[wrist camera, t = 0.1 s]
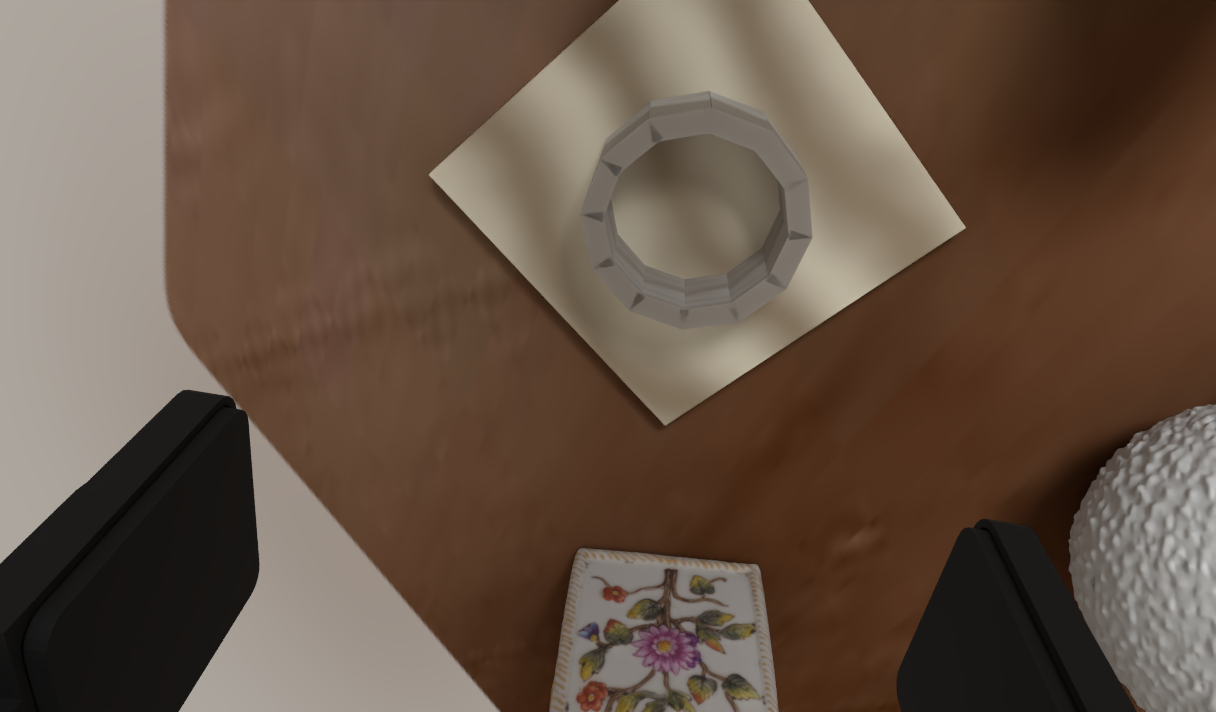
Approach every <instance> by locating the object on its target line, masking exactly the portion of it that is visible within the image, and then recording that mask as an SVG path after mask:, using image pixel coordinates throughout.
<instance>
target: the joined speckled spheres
mask: <svg viewBox="0 0 1216 712" xmlns="http://www.w3.org/2000/svg"><path fill="white" fill-rule="evenodd" d="M1069 544H1070V546H1069V552H1070V555H1071V559H1070V565H1069V572H1070V573H1071V575H1072V584H1073V588H1074V598H1075V600H1076V601H1077V602H1078V607H1079V609H1080V610H1081V612H1082V614H1083V617H1084V619H1085V621H1086V623H1087V625H1088V627H1089V628H1090V630H1091V632H1092V634H1093V635H1094V637H1095V639H1096V641H1097V642H1098V644H1099V646H1100V648H1101V650H1102V651H1103V653H1104V655H1105V657H1106V658H1107V660H1108V662H1109V664H1110V665H1111V667H1112V669H1113V671H1114V673H1115V674H1116V676H1117V678H1118V680H1119V681H1120V682H1121V683H1123V684H1124V685H1125V686H1126V687H1127V688H1128V689H1129V691H1130V694H1131V696H1132V697H1133V698H1134V700H1135V701H1136V703H1137V705H1138V706H1139V707H1141V708H1143V709H1145V712H1216V404H1215V405H1210V404H1208V405H1206V406H1198V407H1194V408H1193V409H1186V410H1184V411H1183V412H1181V413H1180V414H1178V415H1175V416H1173V417H1168V418H1166V419H1165V420H1163V421H1160V422H1158V423H1157V424H1156V425H1154V426H1153V427H1152V428H1151V429H1149V430H1147V431H1142V432H1139V433H1136V434H1134V436H1133V438H1132V439H1131V440H1130V443H1129V444H1127V446H1126V447H1124V448H1119V449H1117V451H1116V452H1115V453H1114V455H1113V457H1112V458H1111V459H1110V460H1108V461H1107V463H1106V467H1102V468H1101V469H1100V471H1099V474H1098V475H1097V479H1096V480H1094V481H1092V483H1091V486H1090V488H1089V489H1088V491H1087V494H1086V495H1085V497H1084V498H1083V500H1082V501H1081V506H1080V510H1079V511H1077V513H1076V514H1075V515H1074V524H1073V525H1072V527H1071V530H1070V539H1069Z"/></svg>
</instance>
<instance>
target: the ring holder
mask: <svg viewBox="0 0 1216 712" xmlns="http://www.w3.org/2000/svg"><path fill="white" fill-rule="evenodd" d="M429 176H430V177H431V178H432V179H433V180H434V181H435V182H436V183H437V184H438V185H439V186H440V187H441V188H442V189H443V190H444V192H445V193H446V194H447V195H448V196H449V197H450V198H451V199H452V200H453V201H454V202H455V203H456V204H457V205H458V206H459V207H460V209H461V210H462V211H463V212H464V213H465V214H466V215H467V216H468V217H469V218H470V219H471V220H472V221H473V222H474V223H475V224H476V226H477V227H478V228H479V229H480V230H481V231H482V232H483V233H484V234H485V235H486V236H487V237H488V238H489V239H490V240H491V241H492V242H493V244H494V245H495V246H496V247H497V248H498V249H499V250H500V251H501V252H502V253H503V254H504V255H505V256H506V257H507V258H508V259H509V261H510V262H511V263H512V264H513V265H514V266H515V267H516V268H517V269H518V270H519V271H520V272H521V273H522V274H523V275H524V276H525V278H526V279H527V280H528V281H529V282H530V283H531V284H532V285H533V286H534V287H535V288H536V289H537V290H538V291H539V292H540V293H541V295H542V296H543V297H544V298H545V299H546V300H547V301H548V302H549V303H550V304H551V305H552V306H553V307H554V308H555V309H556V310H557V311H558V313H559V314H560V315H561V316H562V317H563V318H564V319H565V320H566V321H567V322H568V323H569V324H570V325H571V326H572V327H573V328H574V330H575V331H576V332H577V333H578V334H579V335H580V336H581V337H582V338H583V339H584V340H585V341H586V342H587V343H588V344H589V345H590V347H591V348H592V349H593V350H594V351H595V352H596V353H597V354H598V355H599V356H600V357H601V358H602V359H603V360H604V361H605V362H606V364H607V365H608V366H609V367H610V368H611V369H612V370H613V371H614V372H615V373H616V374H617V375H618V376H619V377H620V378H621V379H622V380H623V382H624V383H625V384H626V385H627V386H628V387H629V388H630V389H631V390H632V391H633V392H634V393H635V394H636V395H637V396H638V397H639V399H640V400H641V401H642V402H643V403H644V404H645V405H646V406H647V407H648V408H649V409H650V410H651V411H652V412H653V413H654V414H655V416H656V417H657V418H658V419H659V420H660V421H661V422H662V423H663V424H664V425H665V426H666V425H667V424H669V423H670V422H672V421H673V420H675V419H676V418H678V417H679V416H681V415H682V414H684V413H685V412H687V411H688V410H690V409H691V408H693V407H694V406H696V405H697V404H699V403H700V402H702V401H704V400H705V399H707V398H708V397H710V396H711V395H713V394H714V393H716V392H717V391H719V390H720V389H722V388H723V387H725V386H726V385H728V384H729V383H731V382H732V381H734V380H735V379H737V378H738V377H740V376H741V375H743V374H745V373H746V372H748V371H749V370H751V369H752V368H754V367H755V366H757V365H758V364H760V363H761V362H763V361H764V360H766V359H767V358H769V357H770V356H772V355H773V354H775V353H776V352H778V351H779V350H781V349H783V348H784V347H786V346H787V345H789V344H790V343H792V342H793V341H795V340H796V339H798V338H799V337H801V336H802V335H804V334H805V333H807V332H808V331H810V330H811V329H813V328H814V327H816V326H817V325H819V324H820V323H822V322H824V321H825V320H827V319H828V318H830V317H831V316H833V315H834V314H836V313H837V312H839V311H840V310H842V309H843V308H845V307H846V306H848V305H849V304H851V303H852V302H854V301H855V300H857V299H858V298H860V297H862V296H863V295H865V294H866V293H868V292H869V291H871V290H872V289H874V288H875V287H877V286H878V285H880V284H881V283H883V282H884V281H886V280H887V279H889V278H890V277H892V276H893V275H895V274H896V273H898V272H899V271H901V270H903V269H904V268H906V267H907V266H909V265H910V264H912V263H913V262H915V261H916V260H918V259H919V258H921V257H922V256H924V255H925V254H927V253H928V252H930V251H931V250H933V249H934V248H936V247H937V246H939V245H940V244H942V243H944V242H945V241H947V240H948V239H950V238H951V237H953V236H954V235H956V234H957V233H959V232H960V231H962V230H963V229H965V228H966V227H965V226H964V224H963V223H962V221H961V220H960V219H959V217H958V216H957V214H956V213H955V211H954V210H953V208H952V207H951V206H950V204H949V203H948V201H947V200H946V198H945V197H944V195H943V194H942V193H941V191H940V190H939V188H938V187H937V185H936V184H935V182H934V181H933V180H932V178H931V177H930V175H929V174H928V172H927V171H926V169H925V168H924V167H923V165H922V164H921V162H920V161H919V159H918V158H917V156H916V155H915V154H914V152H913V151H912V149H911V148H910V146H909V145H908V143H907V142H906V141H905V139H904V138H903V136H902V135H901V133H900V132H899V130H898V129H897V128H896V126H895V125H894V123H893V122H892V120H891V119H890V117H889V116H888V115H887V113H886V112H885V110H884V109H883V107H882V106H881V104H880V103H879V102H878V100H877V99H876V97H875V96H874V94H873V93H872V91H871V90H870V89H869V87H868V86H867V84H866V83H865V81H864V80H863V78H862V77H861V76H860V74H859V73H858V71H857V70H856V68H855V67H854V65H853V64H852V63H851V61H850V60H849V58H848V57H847V55H846V54H845V52H844V51H843V50H842V48H841V47H840V45H839V44H838V42H837V41H836V39H835V38H834V37H833V35H832V34H831V32H830V31H829V29H828V28H827V26H826V25H825V24H824V22H823V21H822V19H821V18H820V16H819V15H818V13H817V12H816V11H815V9H814V8H813V6H812V5H811V3H810V2H809V0H618V1H617V2H616V3H615V4H614V5H613V6H612V7H610V8H609V9H608V10H607V11H606V12H605V13H604V14H603V15H602V16H601V17H600V18H598V19H597V20H596V21H595V22H594V23H593V24H592V25H591V26H590V27H589V28H587V29H586V30H585V31H584V32H583V33H582V34H581V35H580V36H579V37H578V38H577V39H575V40H574V41H573V42H572V43H571V44H570V45H569V46H568V47H567V48H566V49H565V50H563V51H562V52H561V53H560V54H559V55H558V56H557V57H556V58H555V59H554V60H553V61H551V62H550V63H549V64H548V65H547V66H546V67H545V68H544V69H543V70H542V71H540V72H539V73H538V74H537V75H536V76H535V77H534V78H533V79H532V80H531V81H530V82H528V83H527V84H526V85H525V86H524V87H523V88H522V89H521V90H520V91H519V92H518V93H516V94H515V95H514V96H513V97H512V98H511V99H510V100H509V101H508V102H507V103H505V104H504V105H503V106H502V107H501V108H500V109H499V110H498V111H497V112H496V113H495V114H493V115H492V116H491V117H490V118H489V119H488V120H487V121H486V122H485V123H484V124H483V125H481V126H480V127H479V128H478V129H477V130H476V131H475V132H474V133H473V134H472V135H471V136H469V137H468V138H467V139H466V140H465V141H464V142H463V143H462V144H461V145H460V146H458V147H457V148H456V149H455V150H454V151H453V152H452V153H451V154H450V155H449V156H448V157H446V158H445V159H444V160H443V161H442V162H441V163H440V164H439V165H438V166H437V167H436V168H434V169H433V171H432V172H431V173H430V174H429Z"/></svg>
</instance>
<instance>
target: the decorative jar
mask: <svg viewBox="0 0 1216 712" xmlns="http://www.w3.org/2000/svg"><path fill="white" fill-rule="evenodd" d="M762 584H763V583H762V579H761V572H760V569H759V567H758V565H757V564H746V563H736V562H734V563H729V562H725V561H717V560H705V559H696V558H686V557H675V556H664V555H656V554H647V553H639V552H626V551H614V550H601V549H592V548H580V549H579V550H578V551H577V553H576V555H575V559H574V563H573V567H572V572H571V577H570V582H569V588H568V594H567V599H566V604H565V611H564V619H563V622H562V629H561V636H560V644H559V650H558V658H557V663H556V668H555V676H554V681H553V685H552V688H551V699H550V711H549V712H778V702H777V690H776V682H775V673H774V667H773V666H774V663H773V656H772V649H771V641H770V633H769V625H768V619H767V611H766V605H765V597H764V590H763V585H762Z"/></svg>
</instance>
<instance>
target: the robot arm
mask: <svg viewBox="0 0 1216 712" xmlns="http://www.w3.org/2000/svg"><path fill="white" fill-rule="evenodd" d="M252 476H253V475H252V462H251V449H250V437H249V423H248V416H247V414H246V412H245V411H243V410H240V409H236V404H235V402H234V400H233V399H232V398H231V397H229V396H223V395H217V394H211V393H205V392H198V391H192V390H183V391H181V392H180V393H178V394H177V395H176V396H175V397H174V398H173V399H172V400H171V401H170V402H169V403H168V404H167V405H166V406H165V407H164V408H163V409H162V410H161V411H160V412H159V413H158V414H156V415H155V416H154V417H153V418H152V419H151V420H150V421H149V422H148V423H147V424H146V425H145V426H144V427H143V428H142V429H141V430H140V431H139V432H138V433H137V434H136V435H135V436H134V437H133V438H132V439H131V440H130V441H129V442H128V443H127V444H126V445H125V446H124V447H123V448H122V449H121V450H120V451H119V452H118V453H117V454H115V455H114V456H113V457H112V458H111V459H110V460H109V461H108V462H107V464H105V465H104V466H103V467H102V468H101V469H100V470H99V471H98V472H97V473H96V474H95V475H94V476H93V477H92V478H91V479H90V480H89V481H88V482H87V483H85V484H84V485H83V486H81V487H80V488H79V489H77V490H76V491H75V492H74V493H73V494H72V495H71V496H70V497H69V498H68V499H67V500H66V501H65V502H63V503H62V504H61V505H60V506H59V507H58V508H57V509H56V510H55V511H54V512H53V513H52V514H51V515H50V516H49V517H48V518H47V519H46V520H45V521H44V522H43V523H42V524H41V525H40V526H39V527H38V528H37V529H36V530H35V531H34V532H33V533H32V534H31V535H30V536H28V537H27V538H26V539H25V541H23V542H22V543H21V544H20V545H19V546H18V547H17V548H16V549H15V550H14V551H13V552H12V553H11V554H10V555H9V556H8V557H7V558H6V559H5V560H4V561H3V562H2V563H1V564H0V712H179V710H180V708H181V707H182V705H183V704H184V702H185V701H186V699H187V697H188V696H189V694H190V693H191V691H192V689H193V687H194V686H195V684H196V682H197V681H198V680H199V678H200V676H201V675H202V673H203V672H204V670H205V668H206V667H207V665H208V663H209V662H210V660H211V659H212V657H213V655H214V654H215V652H216V651H217V649H218V647H219V646H220V644H221V643H222V641H223V639H224V638H225V636H226V635H227V633H228V631H229V630H230V628H231V626H232V625H233V623H234V622H235V620H236V618H237V617H238V615H239V614H240V612H241V610H242V609H243V607H244V605H245V604H246V602H247V601H248V599H249V597H250V596H251V594H252V592H253V590H254V588H255V585H256V582H257V579H258V574H259V553H258V540H257V528H256V514H255V501H254V488H253V477H252ZM897 696H898V701H899V704H900V708H901V712H1137V711H1136V710H1135V708H1134V706H1133V704H1132V703H1131V701H1130V699H1129V697H1128V695H1127V694H1126V692H1125V690H1124V688H1123V687H1122V685H1121V683H1120V681H1119V680H1118V678H1117V676H1116V674H1115V673H1114V671H1113V669H1112V667H1111V665H1110V664H1109V662H1108V660H1107V658H1106V657H1105V655H1104V653H1103V651H1102V650H1101V648H1100V646H1099V644H1098V642H1097V641H1096V639H1095V637H1094V635H1093V634H1092V632H1091V630H1090V628H1089V627H1088V625H1087V623H1086V621H1085V620H1084V618H1083V616H1082V614H1081V612H1080V611H1079V609H1078V607H1077V605H1076V604H1075V602H1074V600H1073V598H1072V597H1071V595H1070V593H1069V591H1068V590H1067V588H1066V586H1065V584H1064V582H1063V581H1062V579H1061V577H1060V575H1059V574H1058V572H1057V570H1056V568H1055V567H1054V565H1053V563H1052V561H1051V559H1050V558H1049V556H1048V554H1047V552H1046V551H1045V549H1044V547H1043V545H1042V544H1041V542H1040V540H1039V538H1038V537H1037V535H1036V533H1035V532H1034V531H1033V529H1032V528H1030V527H1028V526H1026V525H1020V524H1014V523H1008V522H1002V521H995V520H989V519H982V520H980V521H979V522H977V523H976V525H975V526H974V528H969V527H968V528H964V529H963V530H962V531H961V532H960V534H959V536H958V538H957V540H956V543H955V545H954V547H953V549H952V552H951V554H950V556H949V558H948V560H947V563H946V565H945V567H944V569H943V572H942V574H941V576H940V578H939V581H938V583H937V585H936V587H935V590H934V592H933V594H932V596H931V599H930V601H929V603H928V605H927V607H926V610H925V612H924V614H923V616H922V619H921V621H920V623H919V625H918V628H917V630H916V632H915V634H914V637H913V639H912V641H911V643H910V646H909V648H908V650H907V652H906V654H905V657H904V659H903V661H902V663H901V666H900V668H899V671H898V676H897Z"/></svg>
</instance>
